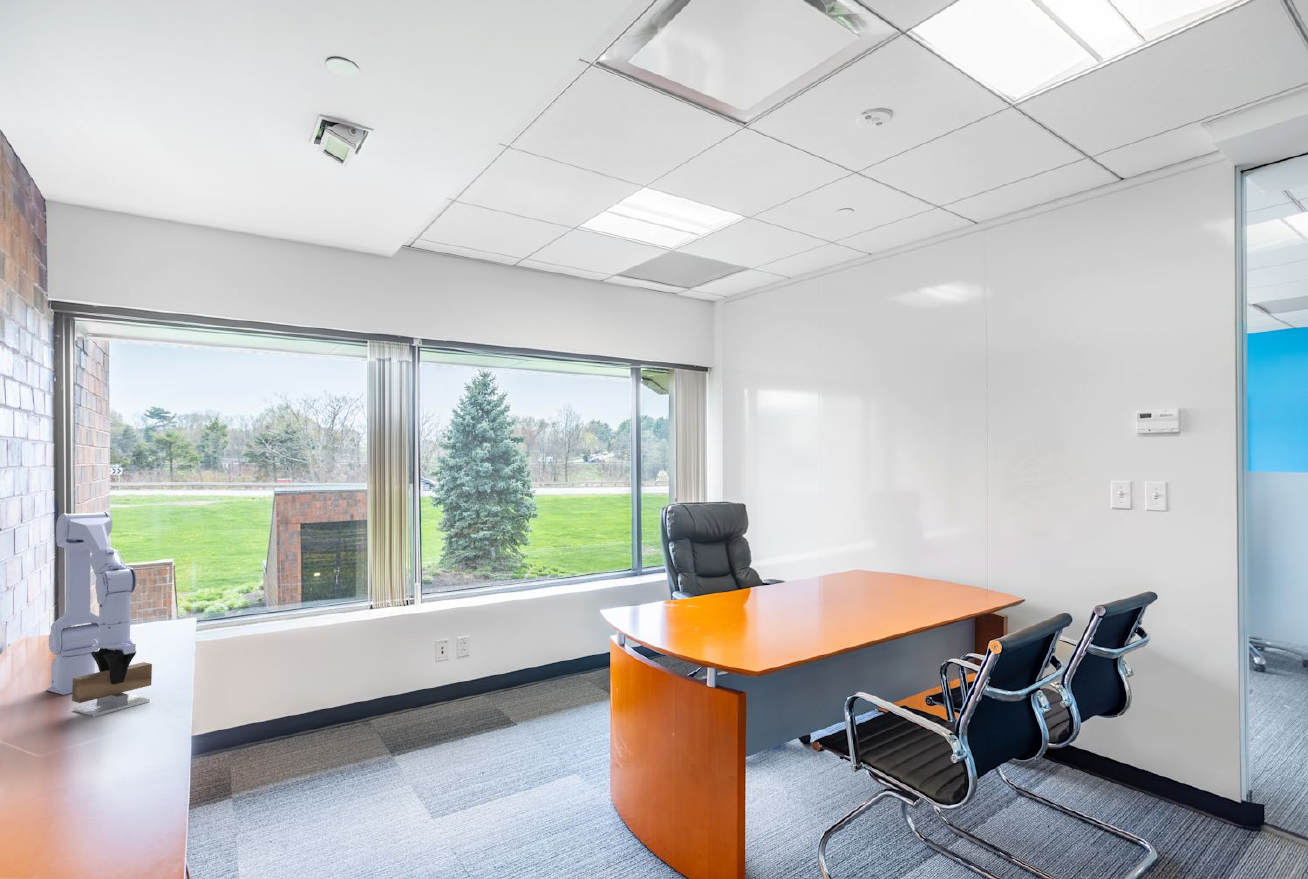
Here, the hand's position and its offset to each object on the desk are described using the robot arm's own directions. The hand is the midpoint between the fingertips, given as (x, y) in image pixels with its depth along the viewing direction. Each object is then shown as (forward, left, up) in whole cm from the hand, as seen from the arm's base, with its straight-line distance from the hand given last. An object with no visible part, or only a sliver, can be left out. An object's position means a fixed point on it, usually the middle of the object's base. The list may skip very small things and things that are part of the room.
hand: (112, 682), depth 155 cm
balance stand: (0, 0, -5) cm, 5 cm away
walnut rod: (0, 0, -2) cm, 2 cm away
